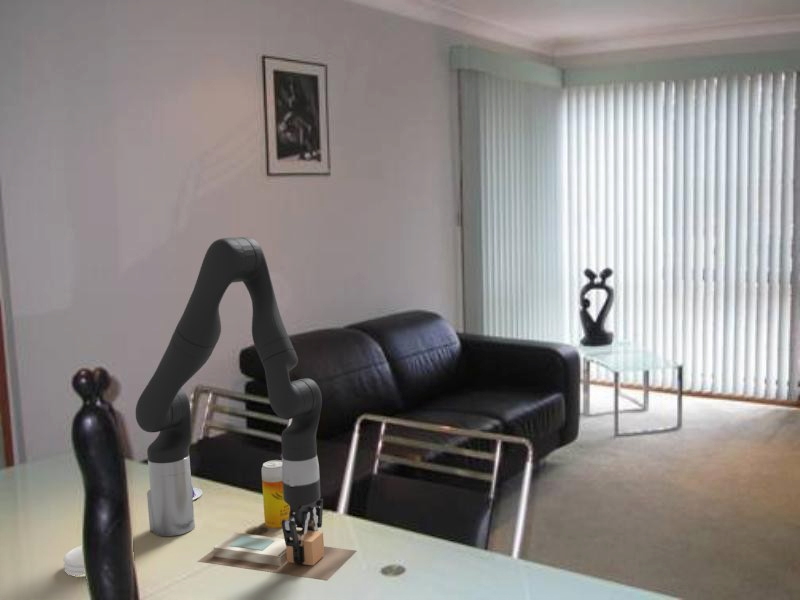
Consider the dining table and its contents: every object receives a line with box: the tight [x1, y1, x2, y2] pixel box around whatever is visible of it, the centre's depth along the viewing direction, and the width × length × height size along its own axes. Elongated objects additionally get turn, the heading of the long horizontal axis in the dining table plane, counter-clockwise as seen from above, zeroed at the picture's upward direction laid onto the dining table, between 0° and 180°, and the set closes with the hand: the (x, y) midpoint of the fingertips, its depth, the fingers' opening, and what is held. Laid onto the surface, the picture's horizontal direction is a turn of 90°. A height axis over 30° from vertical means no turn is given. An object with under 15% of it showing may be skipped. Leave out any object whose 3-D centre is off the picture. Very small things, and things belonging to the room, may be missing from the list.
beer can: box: [261, 459, 290, 529], centre depth 192 cm, size 6×6×15 cm
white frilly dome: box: [63, 545, 85, 576], centre depth 176 cm, size 10×10×4 cm
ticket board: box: [197, 532, 357, 581], centre depth 175 cm, size 30×14×3 cm, turn 68°
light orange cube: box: [286, 528, 324, 565], centre depth 172 cm, size 6×5×5 cm
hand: (305, 556), depth 173 cm, fingers closed on light orange cube, 5 cm apart
